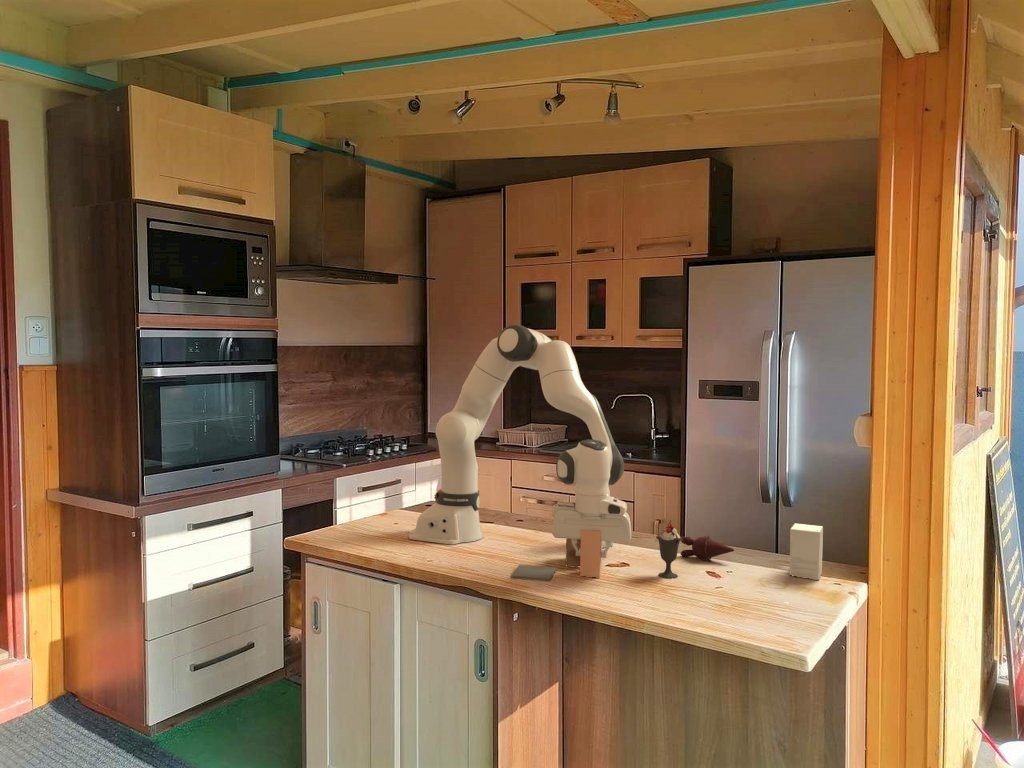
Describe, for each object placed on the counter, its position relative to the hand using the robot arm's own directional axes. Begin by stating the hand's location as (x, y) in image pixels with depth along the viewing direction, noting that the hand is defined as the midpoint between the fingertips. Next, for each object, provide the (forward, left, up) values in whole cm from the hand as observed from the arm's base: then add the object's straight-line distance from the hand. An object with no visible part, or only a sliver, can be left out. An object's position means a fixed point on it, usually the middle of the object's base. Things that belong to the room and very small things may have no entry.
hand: (591, 556), depth 204 cm
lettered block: (-3, +10, -5) cm, 12 cm away
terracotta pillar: (0, 0, -5) cm, 5 cm away
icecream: (+30, +22, -5) cm, 37 cm away
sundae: (+20, +4, -5) cm, 21 cm away
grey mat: (-14, -3, -5) cm, 15 cm away
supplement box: (+55, +14, -5) cm, 57 cm away
